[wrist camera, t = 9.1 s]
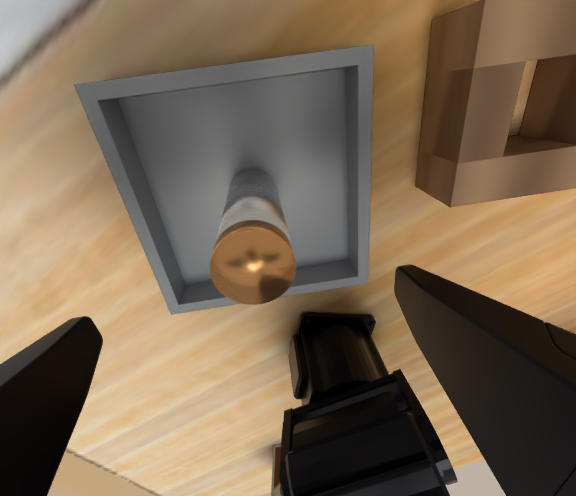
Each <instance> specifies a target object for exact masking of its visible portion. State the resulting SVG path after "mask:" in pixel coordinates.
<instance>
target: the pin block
mask: <svg viewBox="0 0 576 496" xmlns="http://www.w3.org/2000/svg"><path fill="white" fill-rule="evenodd" d="M537 59H539V60H538V64H537V68H536V71H535V75H534V79H533V83H532V87H531V91H530V95H529V98H528V102H527V106H526V110H525V114H524V118H523V122H522V125H521V129H520V133H519V135H517V136H510V137H508V133H509V129H510V125H511V121H512V116H513V112H514V108H515V104H516V100H517V96H518V92H519V88H520V83H521V79H522V75H523V71H524V67H525V63H526V61H530V60H537ZM415 186H416V187H417V188H419V189H421V190H422V191H424V192H426V193H427V194H429V195H431V196H432V197H434V198H436V199H437V200H439V201H441V202H442V203H444V204H446V205H447V206H449V207H455V206H462V205H468V204H475V203H481V202H488V201H495V200H501V199H508V198H514V197H521V196H527V195H534V194H541V193H547V192H554V191H560V190H567V189H573V188H576V0H481V1H478V2H476V3H473V4H471V5H468V6H466V7H463V8H461V9H458V10H456V11H453V12H451V13H448V14H446V15H443V16H441V17H438V18H436V19H433V20H432V26H431V36H430V46H429V56H428V66H427V76H426V85H425V95H424V105H423V115H422V125H421V135H420V145H419V155H418V165H417V175H416V184H415Z"/></svg>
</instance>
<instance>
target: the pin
mask: <svg viewBox="0 0 576 496" xmlns="http://www.w3.org/2000/svg"><path fill="white" fill-rule="evenodd" d="M295 274H296V261H295V257H294V253H293V249H292V245H291V241H290V237H289V233H288V229H287V225H286V221H285V217H284V213H283V209H282V205H281V201H280V197H279V193H278V189H277V185H276V183H275V181H274V179H273V178H272V177H271V176H270V175H269V174H268V173H267V172H265V171H263V170H261V169H257V168H249V169H245V170H242V171H240V172H239V173H237V174H236V175H235V176H234V178H233V179H232V181H231V183H230V187H229V191H228V195H227V199H226V203H225V206H224V210H223V214H222V218H221V222H220V226H219V230H218V234H217V238H216V242H215V246H214V250H213V254H212V258H211V262H210V275H211V279H212V281H213V283H214V285H215V287H216V288H217V289H218V290H219V291H220V292H221V293H222V294H223V295H224V296H225V297H227V298H229V299H231V300H233V301H235V302H238V303H243V304H262V303H267V302H270V301H272V300H274V299H276V298H278V297H280V296H281V295H282V294H284V293H285V292H286V291H287V290H288V289H289V287H290V286H291V284H292V283H293V280H294V278H295Z"/></svg>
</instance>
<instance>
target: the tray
mask: <svg viewBox="0 0 576 496" xmlns="http://www.w3.org/2000/svg"><path fill="white" fill-rule="evenodd" d="M373 52H374V45H366V46H359V47H351V48H344V49H336V50H329V51H321V52H314V53H306V54H299V55H292V56H284V57H277V58H269V59H262V60H254V61H247V62H239V63H232V64H225V65H217V66H210V67H202V68H195V69H187V70H180V71H172V72H165V73H158V74H150V75H143V76H135V77H128V78H120V79H113V80H105V81H98V82H91V83H83V84H76V85H74V86H75V88H76V91H77V93H78V95H79V98H80V100H81V103H82V105H83V107H84V110H85V112H86V114H87V117H88V119H89V121H90V124H91V126H92V129H93V131H94V133H95V136H96V138H97V140H98V143H99V145H100V147H101V150H102V152H103V155H104V157H105V159H106V162H107V164H108V166H109V169H110V171H111V173H112V176H113V178H114V181H115V183H116V185H117V188H118V190H119V192H120V195H121V197H122V199H123V202H124V204H125V207H126V209H127V211H128V214H129V216H130V218H131V221H132V223H133V225H134V228H135V230H136V233H137V235H138V237H139V240H140V242H141V244H142V247H143V249H144V251H145V254H146V256H147V259H148V261H149V263H150V266H151V268H152V270H153V273H154V275H155V277H156V280H157V282H158V285H159V287H160V289H161V292H162V294H163V296H164V299H165V301H166V304H167V306H168V308H169V311H170V313H171V315H172V314H178V313H185V312H191V311H197V310H204V309H210V308H216V307H223V306H229V305H235V304H241V303H238V302H235V301H233V300H231V299H229V298H227V297H225V296H224V295H223V294H222V293H221V292H220V291H219V290H218V289H217V288H216V287H215V285H214V283H213V281H212V279H211V275H210V262H211V258H212V254H213V250H214V246H215V242H216V238H217V234H218V230H219V226H220V222H221V218H222V214H223V210H224V206H225V203H226V199H227V195H228V191H229V187H230V183H231V181H232V179H233V178H234V176H235V175H236V174H237V173H239V172H240V171H242V170H245V169H249V168H257V169H261V170H263V171H265V172H267V173H268V174H269V175H270V176H271V177H272V178H273V179H274V181H275V183H276V185H277V189H278V193H279V197H280V201H281V205H282V209H283V213H284V217H285V221H286V225H287V229H288V233H289V237H290V241H291V245H292V249H293V253H294V257H295V261H296V274H295V278H294V280H293V283H292V284H291V286H290V287H289V289H288V290H287V291H286V292H285V293H284V294H282V295H281V296H280V297H286V296H292V295H298V294H304V293H311V292H317V291H323V290H330V289H336V288H342V287H349V286H355V285H361V284H367V283H368V276H369V231H370V186H371V142H372V97H373ZM278 298H279V297H278Z"/></svg>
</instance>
